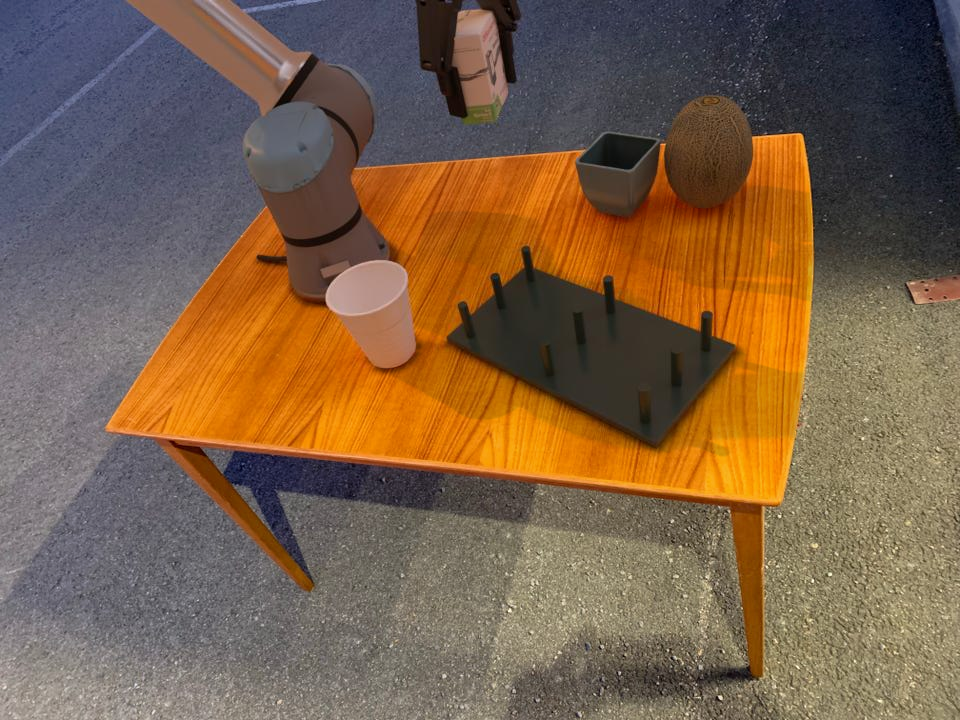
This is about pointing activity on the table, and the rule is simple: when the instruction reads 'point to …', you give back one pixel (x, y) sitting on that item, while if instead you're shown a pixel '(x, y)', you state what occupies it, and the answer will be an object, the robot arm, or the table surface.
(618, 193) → the flower pot
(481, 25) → the ink box
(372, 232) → the robot arm
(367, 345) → the cup
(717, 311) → the table surface
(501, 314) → the dish rack
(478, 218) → the table surface
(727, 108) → the fruit
